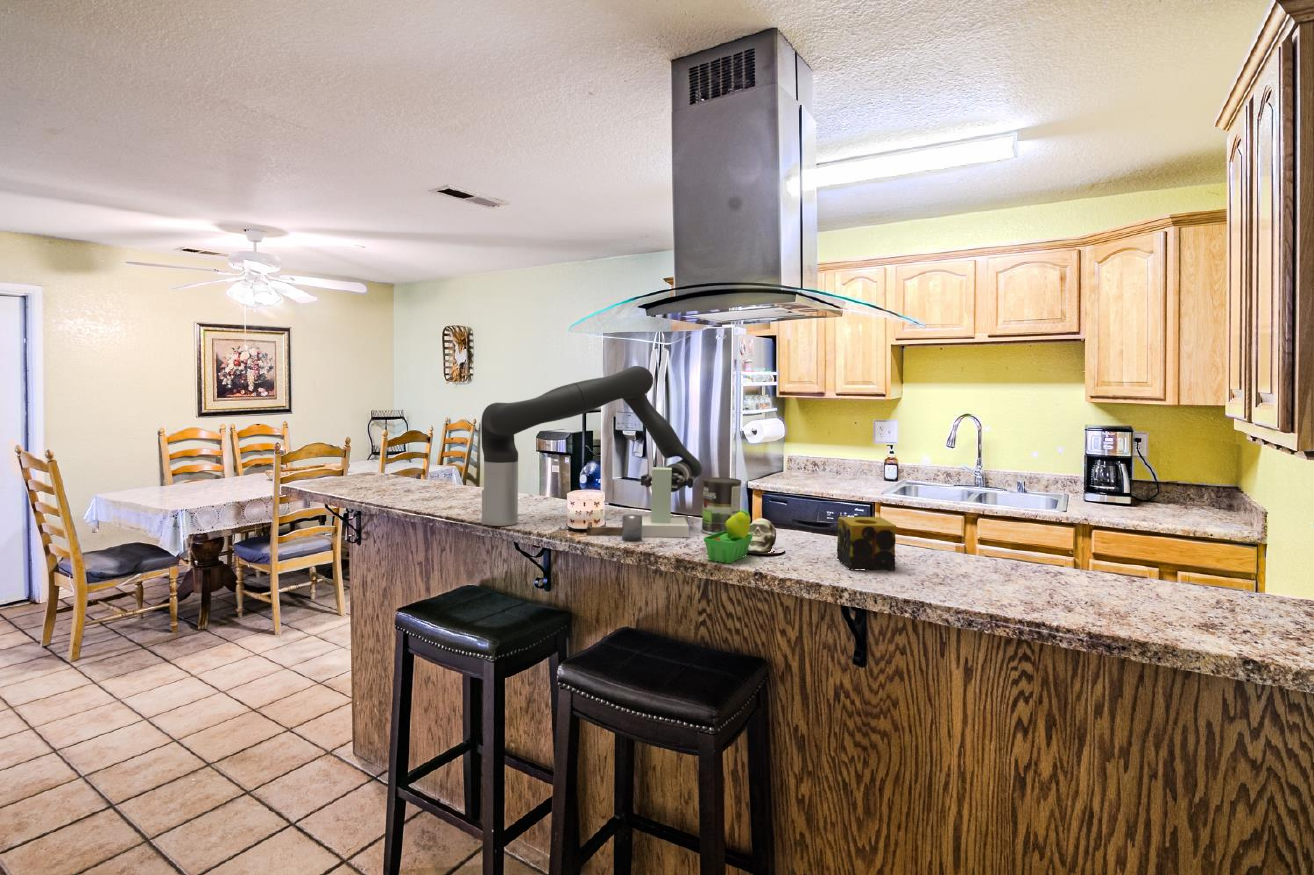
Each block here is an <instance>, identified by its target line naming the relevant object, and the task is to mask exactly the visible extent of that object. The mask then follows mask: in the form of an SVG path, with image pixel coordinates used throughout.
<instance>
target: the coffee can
mask: <svg viewBox="0 0 1314 875" xmlns="http://www.w3.org/2000/svg"><path fill="white" fill-rule="evenodd" d="M702 483H703V484H702V485H703V486H702V513H701V514H702V515H701V516H702V518H701V520H702V521H701V532H702V533H703V532H704V533H703V534H707V535H713V534H716V533H719V532H721V531H727V529H726V526H725V523H726V521H727V520H728V519H730V517H732V516H734V515H735V514H737V513H738V512H739V511H740V510H741V497H742V496H741V492H742V488H741V487H742V480H741V479H738V478H732V477H704V478H703V479H702Z"/></svg>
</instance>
